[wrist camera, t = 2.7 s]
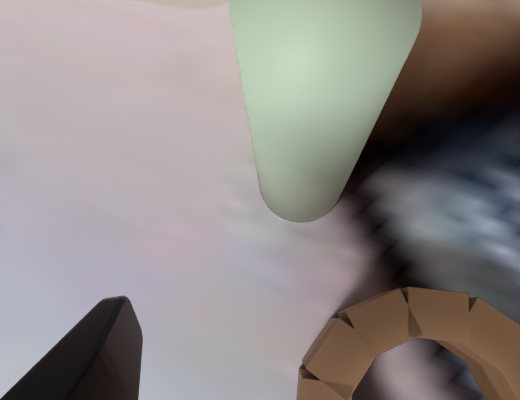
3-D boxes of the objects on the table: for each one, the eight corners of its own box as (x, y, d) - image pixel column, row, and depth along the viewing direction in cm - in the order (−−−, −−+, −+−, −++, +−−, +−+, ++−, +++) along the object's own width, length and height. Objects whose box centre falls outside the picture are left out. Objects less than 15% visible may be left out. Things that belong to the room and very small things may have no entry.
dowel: (279, 235, 20) (276, 121, 8) (246, 163, 21) (201, -31, 9) (356, 202, 20) (459, 43, 8) (319, 132, 21) (366, -95, 9)
